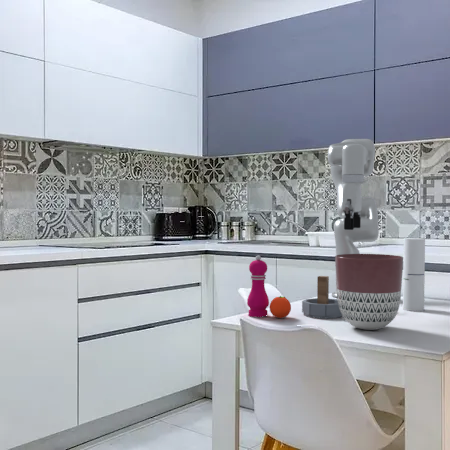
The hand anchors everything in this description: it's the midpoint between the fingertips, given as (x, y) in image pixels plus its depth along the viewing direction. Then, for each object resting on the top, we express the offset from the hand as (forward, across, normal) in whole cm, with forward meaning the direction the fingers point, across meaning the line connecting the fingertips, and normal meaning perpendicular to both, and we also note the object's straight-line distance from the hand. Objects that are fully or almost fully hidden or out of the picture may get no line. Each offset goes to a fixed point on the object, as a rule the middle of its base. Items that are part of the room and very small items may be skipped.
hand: (352, 228), depth 205 cm
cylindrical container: (+29, -8, +20) cm, 36 cm away
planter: (+27, +32, +13) cm, 44 cm away
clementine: (+28, +28, -16) cm, 43 cm away
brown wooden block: (+27, +16, -6) cm, 32 cm away
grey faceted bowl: (+28, +16, -5) cm, 33 cm away
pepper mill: (+28, +28, -24) cm, 46 cm away
